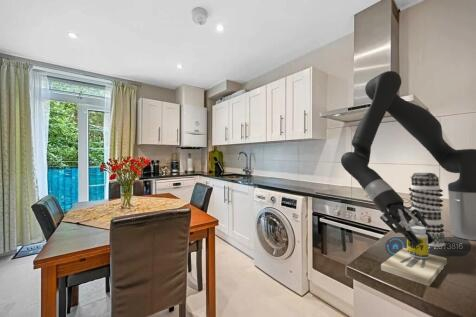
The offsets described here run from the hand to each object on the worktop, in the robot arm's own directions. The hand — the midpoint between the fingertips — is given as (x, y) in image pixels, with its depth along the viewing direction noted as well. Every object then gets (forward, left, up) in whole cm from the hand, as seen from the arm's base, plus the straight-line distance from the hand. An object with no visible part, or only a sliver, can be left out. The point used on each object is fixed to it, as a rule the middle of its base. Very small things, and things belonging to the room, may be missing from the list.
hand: (424, 243), depth 60 cm
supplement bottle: (0, -2, -4) cm, 5 cm away
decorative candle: (-17, -14, -6) cm, 23 cm away
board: (+4, +1, -6) cm, 7 cm away
